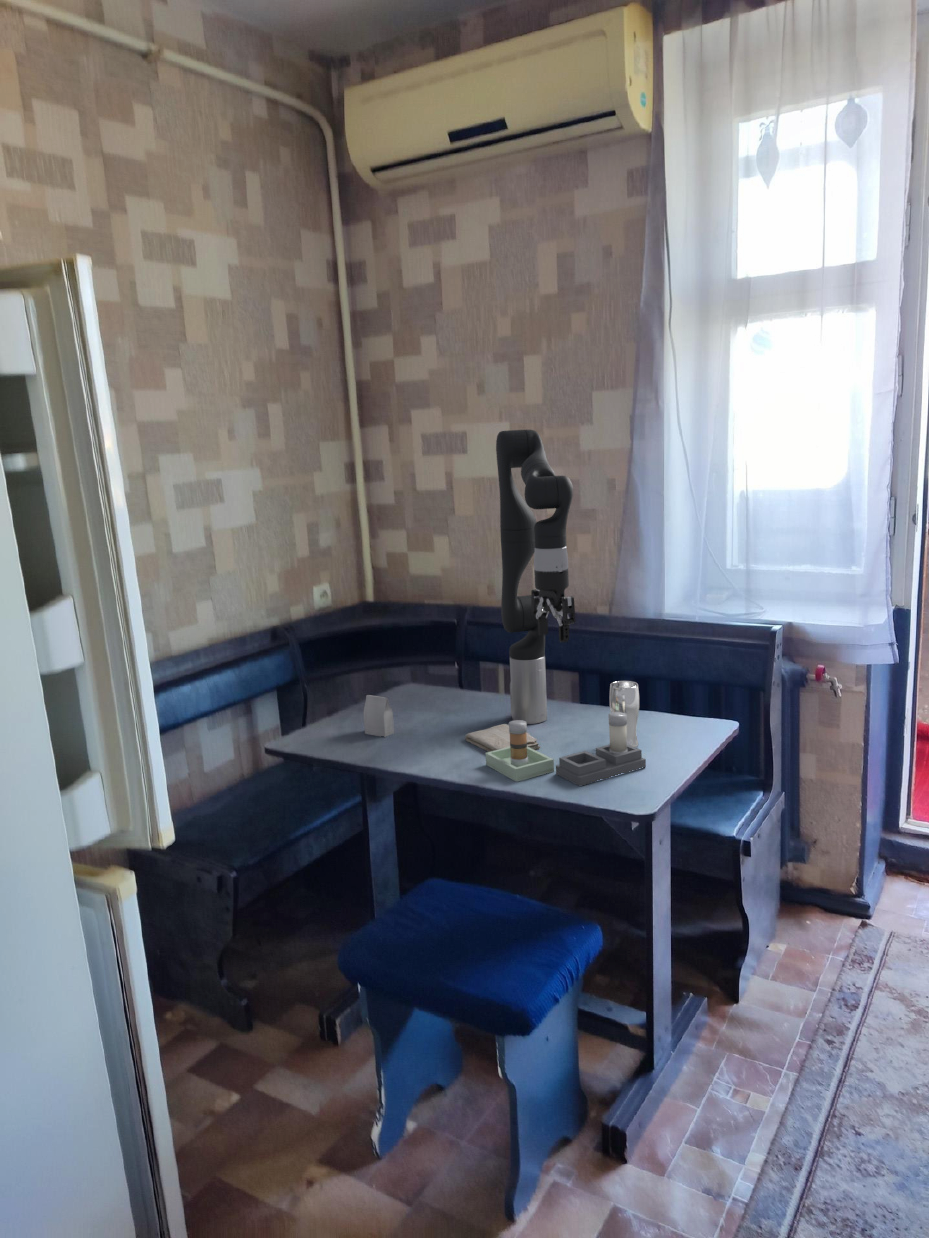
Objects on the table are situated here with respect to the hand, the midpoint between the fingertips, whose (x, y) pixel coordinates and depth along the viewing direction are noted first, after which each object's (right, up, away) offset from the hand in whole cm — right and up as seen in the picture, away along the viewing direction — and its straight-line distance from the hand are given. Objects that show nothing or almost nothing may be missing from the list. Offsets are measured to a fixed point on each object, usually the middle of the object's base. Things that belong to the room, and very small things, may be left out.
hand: (553, 638), depth 204 cm
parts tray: (-8, -30, +2) cm, 31 cm away
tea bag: (-42, -26, +32) cm, 59 cm away
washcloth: (-11, -27, +19) cm, 35 cm away
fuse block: (+10, -29, -2) cm, 31 cm away
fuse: (+15, -27, -1) cm, 30 cm away
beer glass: (+18, -26, +13) cm, 35 cm away
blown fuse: (-8, -29, +2) cm, 30 cm away
